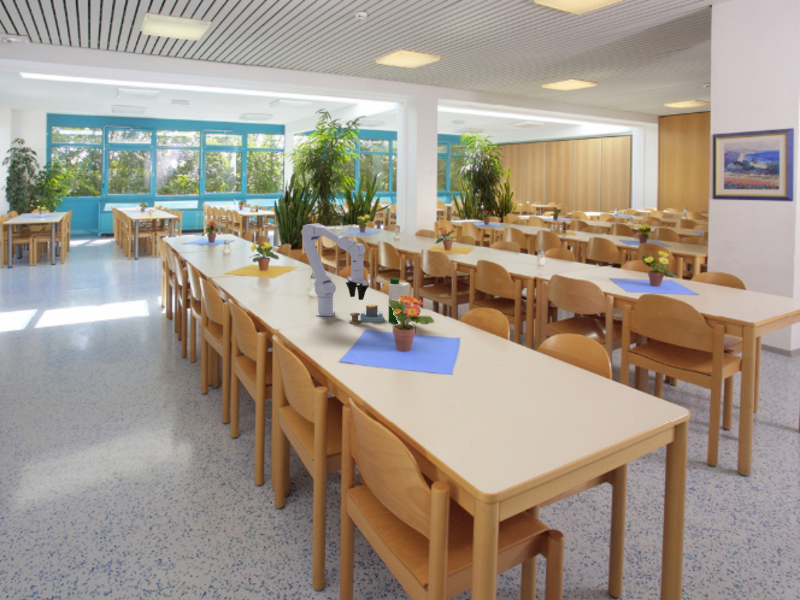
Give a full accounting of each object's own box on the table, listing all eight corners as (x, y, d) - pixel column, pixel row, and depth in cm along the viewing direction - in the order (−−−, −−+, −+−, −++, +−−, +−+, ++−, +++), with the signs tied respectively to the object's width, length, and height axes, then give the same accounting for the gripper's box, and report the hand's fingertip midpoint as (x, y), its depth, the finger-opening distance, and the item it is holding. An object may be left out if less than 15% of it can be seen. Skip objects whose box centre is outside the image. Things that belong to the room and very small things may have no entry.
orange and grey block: (366, 315, 264) (366, 305, 263) (374, 314, 267) (374, 304, 266) (369, 317, 262) (369, 306, 261) (377, 316, 264) (377, 305, 263)
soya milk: (392, 318, 267) (393, 277, 263) (410, 320, 264) (411, 278, 260) (386, 322, 259) (386, 279, 255) (404, 324, 256) (405, 281, 252)
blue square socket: (360, 317, 269) (360, 310, 268) (383, 317, 269) (383, 310, 269) (359, 321, 260) (359, 314, 259) (383, 321, 260) (383, 314, 260)
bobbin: (349, 321, 260) (349, 312, 260) (360, 321, 261) (360, 312, 260) (348, 323, 255) (348, 314, 255) (360, 324, 256) (360, 315, 255)
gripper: (341, 267, 265) (341, 296, 268) (358, 272, 254) (357, 301, 257) (354, 267, 269) (354, 294, 272) (371, 271, 258) (370, 300, 261)
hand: (356, 298), depth 265 cm, fingers open, 7 cm apart
